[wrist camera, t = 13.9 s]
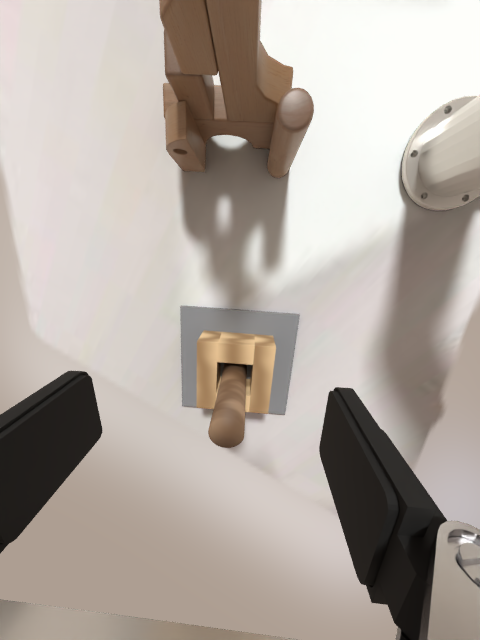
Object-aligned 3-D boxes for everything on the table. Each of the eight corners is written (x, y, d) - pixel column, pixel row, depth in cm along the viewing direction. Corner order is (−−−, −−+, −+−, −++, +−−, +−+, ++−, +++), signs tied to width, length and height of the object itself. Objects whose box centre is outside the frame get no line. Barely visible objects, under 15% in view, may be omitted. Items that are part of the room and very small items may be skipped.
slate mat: (299, 314, 37) (299, 314, 37) (284, 412, 43) (285, 414, 42) (181, 305, 38) (180, 306, 37) (183, 404, 44) (182, 405, 43)
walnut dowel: (247, 354, 39) (245, 420, 24) (246, 374, 40) (242, 449, 25) (225, 353, 39) (208, 417, 24) (224, 372, 40) (208, 446, 25)
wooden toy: (181, 173, 32) (-29, -64, 8) (180, 116, 30) (-102, -423, 6) (288, 179, 31) (404, -52, 8) (294, 122, 29) (479, -435, 6)
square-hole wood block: (273, 335, 38) (276, 347, 33) (266, 395, 41) (268, 413, 37) (203, 330, 38) (196, 341, 33) (202, 389, 42) (196, 407, 37)
